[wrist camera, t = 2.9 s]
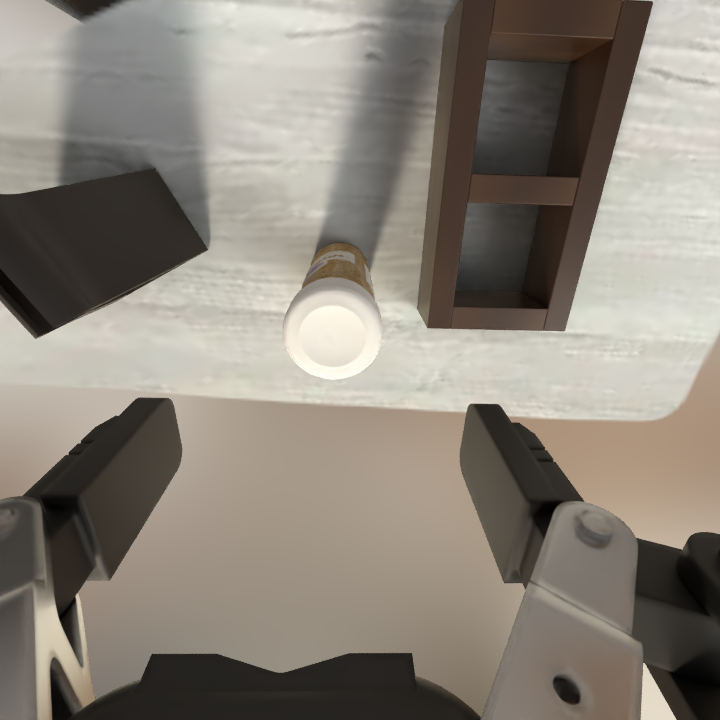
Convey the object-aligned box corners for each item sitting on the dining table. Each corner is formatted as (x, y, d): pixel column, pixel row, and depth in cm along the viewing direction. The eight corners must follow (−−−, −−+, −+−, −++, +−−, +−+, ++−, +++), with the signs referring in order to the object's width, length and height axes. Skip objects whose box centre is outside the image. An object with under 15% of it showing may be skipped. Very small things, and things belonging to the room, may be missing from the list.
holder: (416, 309, 31) (427, 328, 26) (444, 25, 23) (464, -9, 19) (536, 312, 31) (565, 331, 27) (601, 32, 23) (654, 0, 19)
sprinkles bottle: (327, 230, 28) (309, 266, 16) (381, 261, 29) (403, 318, 17) (300, 284, 30) (264, 356, 17) (351, 312, 31) (352, 398, 18)
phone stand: (113, 302, 30) (-24, 371, 19) (55, 230, 28) (-138, 260, 17) (209, 249, 28) (122, 291, 17) (157, 168, 26) (18, 157, 15)
